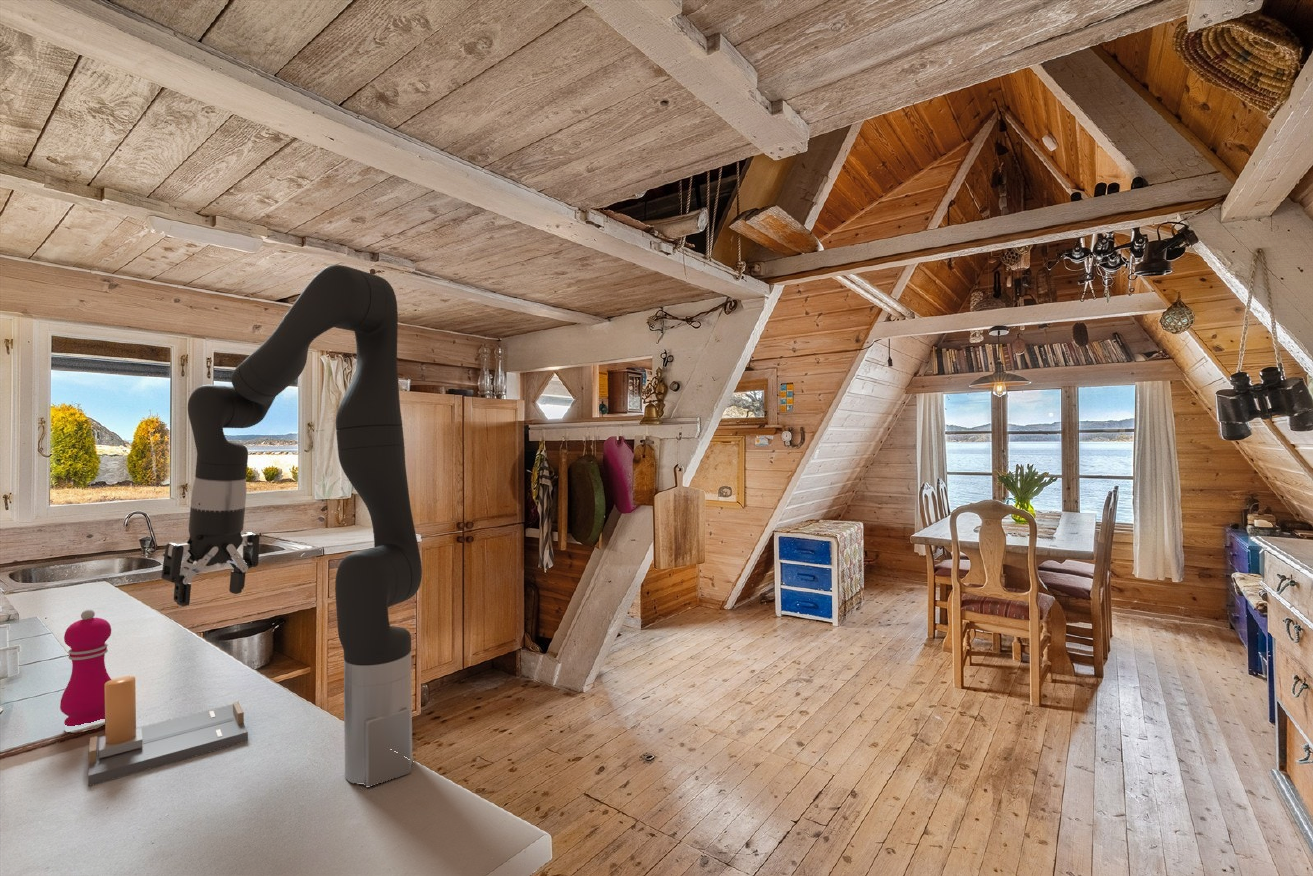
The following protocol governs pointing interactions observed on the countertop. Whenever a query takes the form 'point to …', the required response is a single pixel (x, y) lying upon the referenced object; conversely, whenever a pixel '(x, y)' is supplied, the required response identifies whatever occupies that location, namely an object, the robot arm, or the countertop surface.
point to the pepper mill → (86, 670)
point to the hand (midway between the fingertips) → (210, 598)
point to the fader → (120, 718)
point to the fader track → (171, 742)
